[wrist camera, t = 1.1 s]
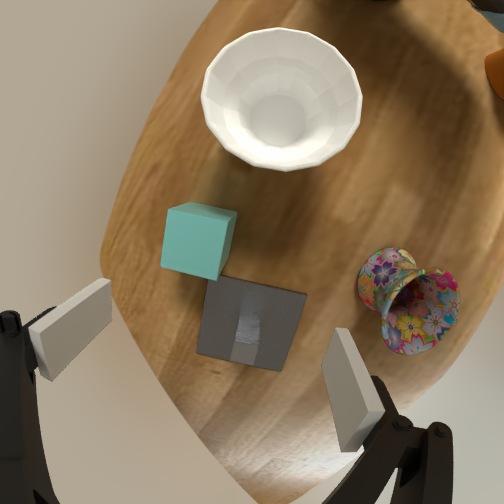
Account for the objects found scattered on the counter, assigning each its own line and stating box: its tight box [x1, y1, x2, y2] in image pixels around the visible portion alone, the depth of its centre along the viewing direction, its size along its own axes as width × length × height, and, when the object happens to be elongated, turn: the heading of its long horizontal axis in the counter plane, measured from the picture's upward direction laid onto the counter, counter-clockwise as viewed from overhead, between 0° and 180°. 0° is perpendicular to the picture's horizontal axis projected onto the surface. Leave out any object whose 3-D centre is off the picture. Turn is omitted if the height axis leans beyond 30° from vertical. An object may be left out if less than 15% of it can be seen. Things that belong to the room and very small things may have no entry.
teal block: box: [160, 202, 238, 281], centre depth 29 cm, size 6×6×8 cm
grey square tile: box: [196, 274, 307, 371], centre depth 32 cm, size 12×12×6 cm
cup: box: [200, 27, 363, 172], centre depth 23 cm, size 12×12×11 cm
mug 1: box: [358, 247, 460, 355], centre depth 27 cm, size 12×9×11 cm
